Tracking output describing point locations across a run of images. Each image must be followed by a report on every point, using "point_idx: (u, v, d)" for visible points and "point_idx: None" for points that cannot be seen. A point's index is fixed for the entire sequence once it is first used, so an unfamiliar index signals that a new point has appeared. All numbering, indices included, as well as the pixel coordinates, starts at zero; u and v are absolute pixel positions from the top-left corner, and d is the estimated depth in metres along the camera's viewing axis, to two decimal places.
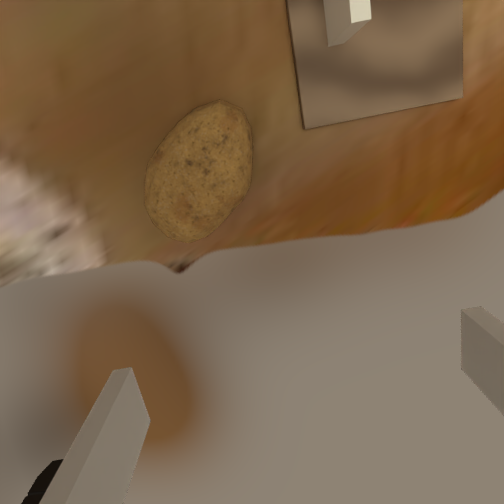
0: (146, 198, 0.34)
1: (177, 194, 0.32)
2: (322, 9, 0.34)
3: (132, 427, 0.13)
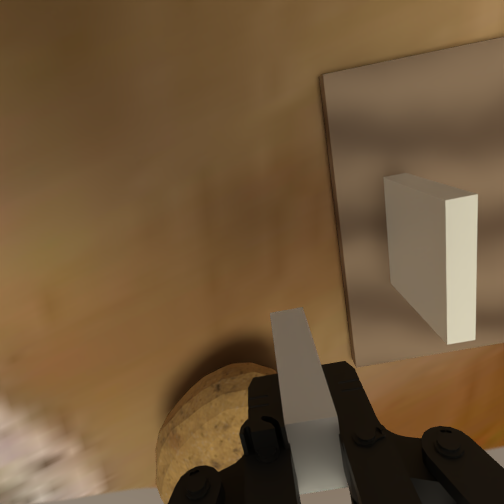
0: (158, 480, 0.27)
1: None
2: (385, 244, 0.26)
3: None
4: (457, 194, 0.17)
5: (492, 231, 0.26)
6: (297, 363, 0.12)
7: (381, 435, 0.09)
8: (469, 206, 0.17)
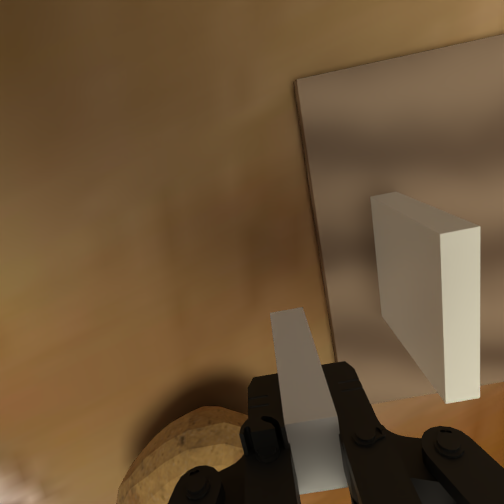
0: None
1: None
2: (374, 272, 0.23)
3: None
4: (455, 225, 0.14)
5: (497, 257, 0.22)
6: (297, 363, 0.12)
7: (381, 435, 0.09)
8: (470, 241, 0.14)
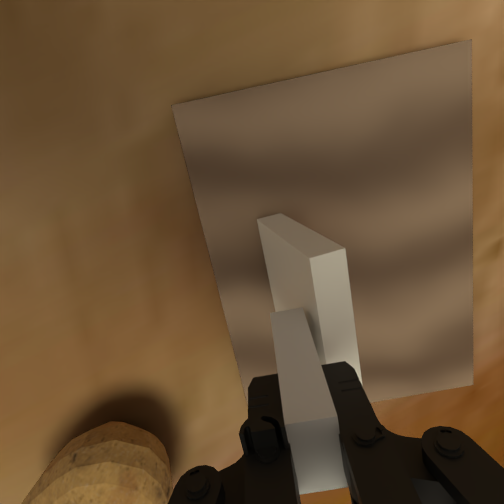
0: None
1: None
2: (268, 291, 0.23)
3: None
4: (324, 248, 0.14)
5: (388, 276, 0.23)
6: (297, 363, 0.12)
7: (381, 435, 0.09)
8: (337, 263, 0.14)
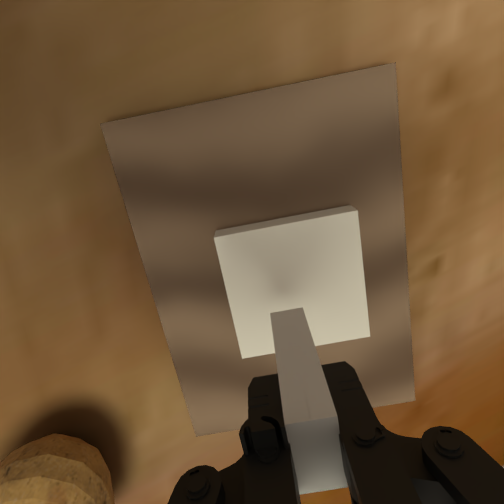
0: None
1: None
2: (205, 306, 0.23)
3: None
4: (342, 209, 0.20)
5: None
6: (297, 363, 0.12)
7: (381, 435, 0.09)
8: None
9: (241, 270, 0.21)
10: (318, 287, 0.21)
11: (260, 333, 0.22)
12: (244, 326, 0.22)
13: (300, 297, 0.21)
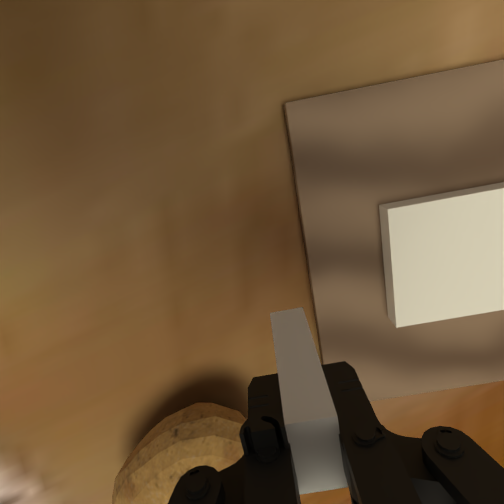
0: None
1: None
2: (357, 279, 0.24)
3: None
4: None
5: None
6: (297, 363, 0.12)
7: (381, 435, 0.09)
8: None
9: (408, 241, 0.22)
10: (478, 258, 0.22)
11: (417, 302, 0.23)
12: (403, 295, 0.23)
13: (460, 268, 0.23)
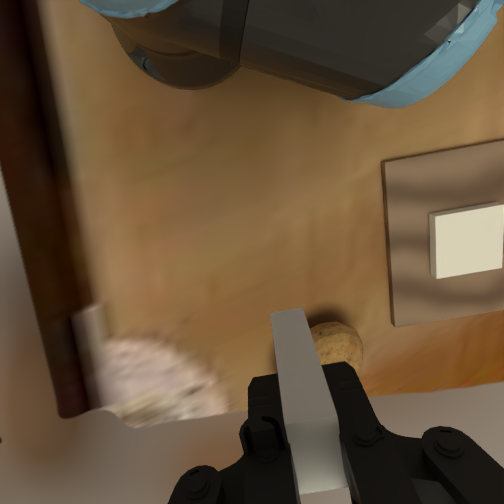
0: None
1: None
2: (415, 253, 0.45)
3: None
4: (494, 203, 0.43)
5: None
6: (297, 363, 0.12)
7: (381, 435, 0.09)
8: None
9: (445, 232, 0.43)
10: (480, 241, 0.43)
11: (448, 265, 0.44)
12: (441, 261, 0.44)
13: (471, 246, 0.43)
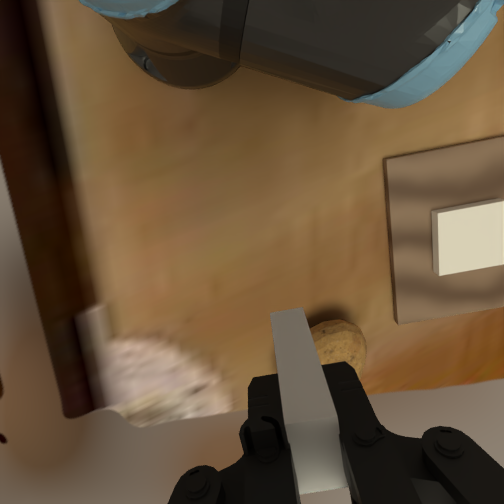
0: None
1: None
2: (417, 250, 0.45)
3: None
4: (496, 200, 0.43)
5: None
6: (297, 363, 0.12)
7: (381, 435, 0.09)
8: None
9: (447, 229, 0.43)
10: (483, 238, 0.43)
11: (451, 262, 0.44)
12: (443, 258, 0.44)
13: (473, 243, 0.43)
